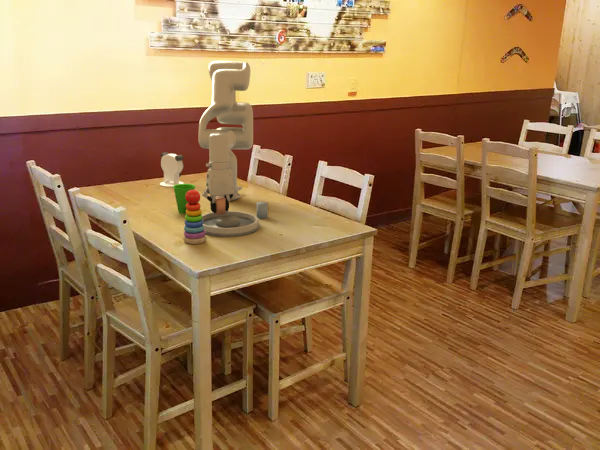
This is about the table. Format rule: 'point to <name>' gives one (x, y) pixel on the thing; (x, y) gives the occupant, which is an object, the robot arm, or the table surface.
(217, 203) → the salmon orange block
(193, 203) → the stacking toy
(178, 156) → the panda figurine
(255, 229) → the groove tray
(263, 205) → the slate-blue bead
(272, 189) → the table surface
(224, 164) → the robot arm
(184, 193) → the cup
